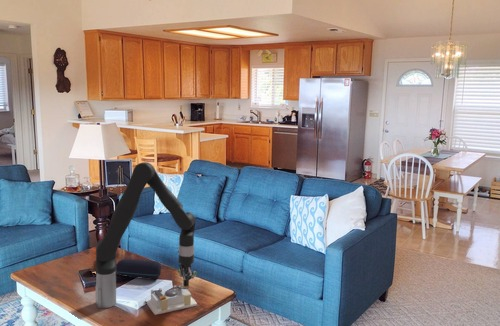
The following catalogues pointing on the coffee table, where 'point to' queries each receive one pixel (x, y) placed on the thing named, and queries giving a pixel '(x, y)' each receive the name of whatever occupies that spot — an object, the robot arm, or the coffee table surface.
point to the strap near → (159, 295)
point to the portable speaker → (139, 268)
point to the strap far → (182, 287)
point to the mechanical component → (192, 276)
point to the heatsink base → (170, 308)
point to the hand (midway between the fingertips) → (185, 285)
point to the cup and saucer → (94, 266)
